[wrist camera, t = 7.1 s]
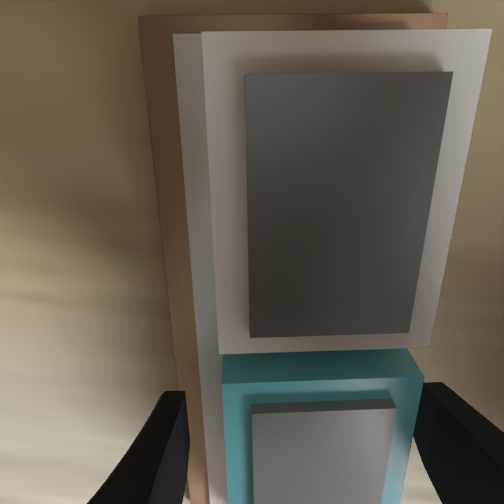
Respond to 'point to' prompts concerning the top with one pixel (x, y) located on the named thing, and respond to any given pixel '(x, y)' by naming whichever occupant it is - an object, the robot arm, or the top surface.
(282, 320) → the board
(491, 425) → the robot arm
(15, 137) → the top surface
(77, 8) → the top surface
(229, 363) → the module
